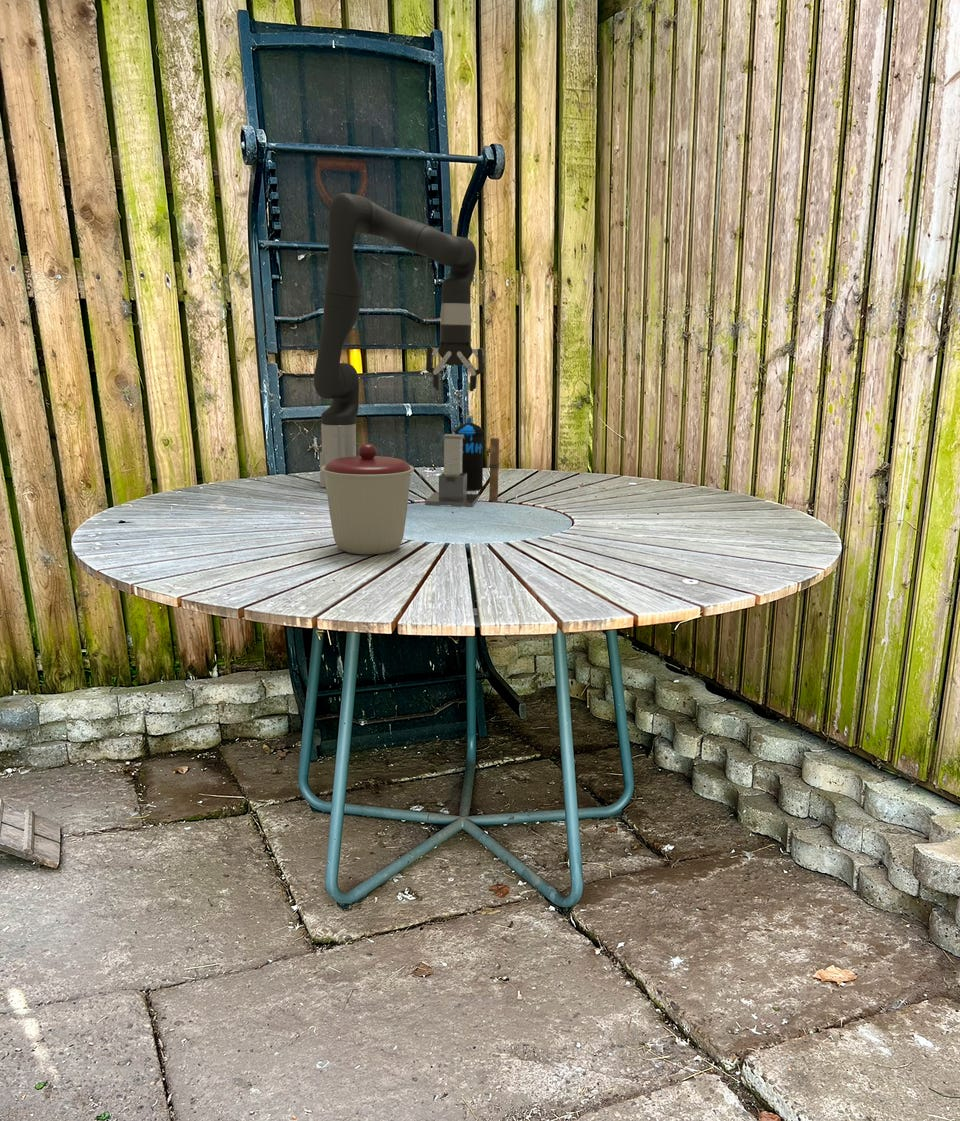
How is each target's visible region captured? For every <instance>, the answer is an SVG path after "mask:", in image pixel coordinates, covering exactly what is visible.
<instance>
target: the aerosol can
mask: <svg viewBox="0 0 960 1121" xmlns="http://www.w3.org/2000/svg"><path fill="white" fill-rule="evenodd" d="M453 432H454V434H463V435H464V437H463V445H462V473H467V492H468V491H469V492H470V491H471V492H472V491H473V492H474V491H481V490H483V489H484V486H483V483H484V482H483V478H484V474H483V473H484V471H483V469H484V433H485V430H483V428H482V427H481V426H480V425H479V424H475V423H474V415H472V414H470V415H467V414H466V415H465V423H462V424H460V425H459V426H458V427H457V428H456V429H455V430H454V431H453Z"/></svg>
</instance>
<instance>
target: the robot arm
mask: <svg viewBox="0 0 960 1121" xmlns="http://www.w3.org/2000/svg"><path fill="white" fill-rule="evenodd" d="M361 234H364V235H371V236H377V237H382V238H384V239H386V240H390V241H391V242H393V243H394V244H396V245H397V246H399V247H400V248H403V249H405V250H407V251H410V252H413V253H415V254H418V255H419V256H423V257H427V258H429V259H430V260H432V261H434V262H436V263H438V264H441V265H442V266H446V267H450V268H449V276H448V278H445V279H444V280H443V281H442V284H441V307H440V309H441V310H440V322H439V323H440V325H439V326H440V331H439V332H440V333H439V334H440V335H439V336H440V337H439V338H440V339H439V340H440V342H439V347H433V346H428V347H427V349H426V363H425V364H426V365H425V371H426V372H428V373H430V374H432V376H433V378H432V382H433V383H432V386H433V389H435V390H436V391H440V390H441V374H440V373H441V371H442V370H443V369H444V368H445V367H446V365H447V366H458V367H462V366H464V367H465V368H466V369H467V370H468V372H469V373H470V377H469V391H470V392H474V390H476V388H477V383H478V382H477V378H478V375H480V374H483V373H485V353H484V351H485V350H484V349H483V348H482V347H480V348H472V322H473V320H472V319H473V318H472V307H471V300H472V298H471V296H472V293H471V292H472V290H471V289H472V288H471V287H472V283H473V279H474V275H475V270H476V265H477V260H478V259H477V257H478V256H477V249H476V246H475V243H473V241H472V240H471V239H470V238H468V237H463V236H457V235H454V234H449V233H446V232H442V231H440V230H439V229H437V228H435V227H434V226H431V225H428V224H426V223H423V222H420V221H417V220H414V219H411V218H407V217H405V216H401V215H398V214H395V213H393V212H391V211H389V210H387V209H386V208H384V207H382V206H380V205H378V204H377V203H376V202H373V201H372V200H371V199H369V198H367V197H365V196H363V195H359V194H353V193H348V192H340V193H338V194H336V195H335V196H334V197H333V198H332V200H331V202H330V206H329V211H328V255H327V257H328V258H327V270H326V271H327V272H326V281H325V283H326V284H325V290H324V300H323V315H322V325H321V332H320V341H319V346H318V351H317V357H316V362H315V366H314V372H313V373H314V374H313V386H314V390H315V392H316V393H317V395H318V396H319V397H320V398H321V399H324V400H325V399H327V400H330V399H332V402H331V405H330V406H329V407H328V408H327V409H326V410H325V411H323V412H322V413H321V415H320V416H321V417H320V421H321V422H320V424H321V426H320V428H321V451H319V472H320V474H319V476H320V479H319V480H320V481H319V483H320V487H321V488H326V482H325V474H324V473H323V472H322V471H321V467H322V466H324V465H326V464H327V463H328V462H329V461H332V460H334V459H338V458H343V457H352V456H357V431H356V430H357V429H356V426H357V425H356V423H357V422H356V419H357V416H358V413H359V403H360V402H359V399H360V397H359V396H360V380H359V375H358V372H357V370H356V367H354V365H352V364H351V363H347V362H341V358H342V350H343V349H344V348H343V347H344V345H345V342H346V340H347V339H348V337H349V335H350V333H351V332H352V330H353V328H354V326H355V325H356V323H357V320H358V318H359V314H360V308H361V301H362V284H361V279H360V276H359V272H358V270H357V265H356V262H355V258H354V257H355V256H354V251H355V249H354V248H355V239H356V238H355V237H356V235H361ZM437 354H439V356H440V357H441V359H440V361H439V363H438V364H437V365H436V366H435V367H433V365H434V357H435V356H436V355H437ZM472 355H474V356H475V358H477V369H476V368H475V367H474V365H473V363H472V362H471V360H470V357H471V356H472Z"/></svg>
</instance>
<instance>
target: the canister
mask: <svg viewBox="0 0 960 1121" xmlns="http://www.w3.org/2000/svg"><path fill="white" fill-rule="evenodd" d="M357 452H358V455H356V456H352V457H343V458H338V459H334V460H332V461H329V462H328V463H327V464H326V465H324V466H322V467H321V471H322V472H323V473H324V474H325V482H326V487H325V489H326V496H327V497H326V498H327V504H328V512H329V518H330V524H331V529H332V530H331V531H332V536H333V539H334V542H335V544H336V546H337V547H338V548H339V549H340V550H341V551H343V552H346V553H350V554H354V555H380V554H382V555H383V554H386V553H390V552H392V551H395V550H397V549H398V548H399V547H400V546H401V544H402V543H403V539H404V534H405V528H406V527H405V526H406V520H407V513H408V512H407V511H408V504H409V503H408V502H409V496H410V495H409V494H410V493H409V492H410V484H411V483H410V482H411V476H412V473H413V472H414V471H415V468H414V466H413V465H411V464H409V463H408V462H407V461H405V460H403V459H400V458H395V457H389V456H380V455H377V448H376V446H375V445H374V444H372V443H363V444H361V445H360V446H359V447H358V451H357Z"/></svg>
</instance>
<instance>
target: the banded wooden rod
mask: <svg viewBox="0 0 960 1121" xmlns="http://www.w3.org/2000/svg"><path fill="white" fill-rule="evenodd" d="M489 440H490V442H489V443H490V445H489V448H490V449H489V451H490V452H489V453H490V455H489V489H488V490H489V492H488V494H489V496H488V497H489V498H488V501H489V502H498V499H499V468H500V467H499V466H500V460H499V459H500V438H499V437H491V438H490V439H489Z"/></svg>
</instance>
